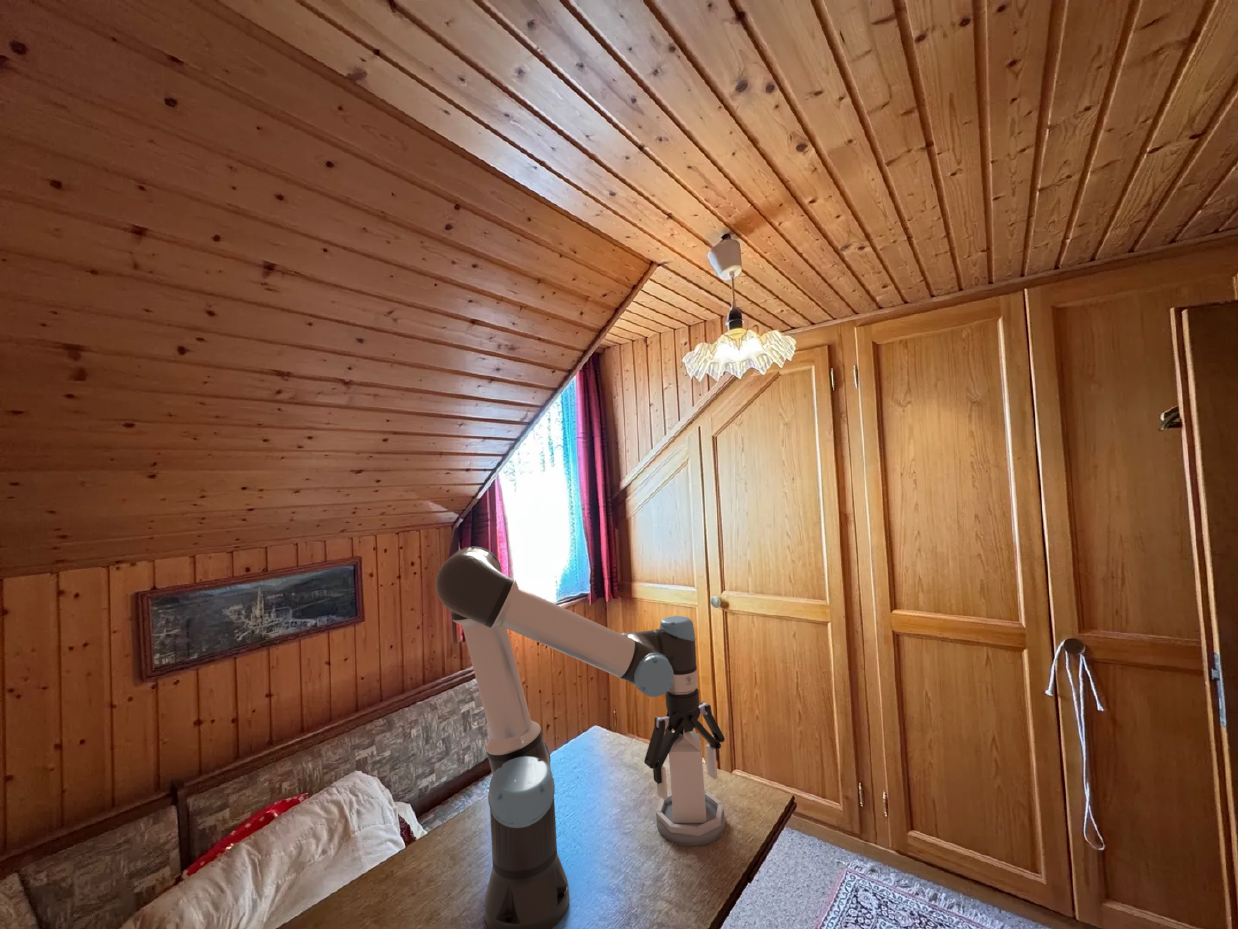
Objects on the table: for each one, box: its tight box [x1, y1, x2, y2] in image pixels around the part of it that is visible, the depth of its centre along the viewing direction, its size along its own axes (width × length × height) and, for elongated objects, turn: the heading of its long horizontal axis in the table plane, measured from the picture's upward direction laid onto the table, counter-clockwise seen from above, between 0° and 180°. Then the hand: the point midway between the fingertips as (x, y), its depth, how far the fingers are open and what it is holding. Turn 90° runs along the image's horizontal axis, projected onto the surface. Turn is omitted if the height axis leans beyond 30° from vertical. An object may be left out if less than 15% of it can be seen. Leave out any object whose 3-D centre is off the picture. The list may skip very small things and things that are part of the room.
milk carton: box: [668, 728, 707, 823], centre depth 113 cm, size 7×7×19 cm
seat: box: [655, 790, 726, 847], centre depth 113 cm, size 15×15×3 cm
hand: (688, 786), depth 113 cm, fingers open, 13 cm apart
